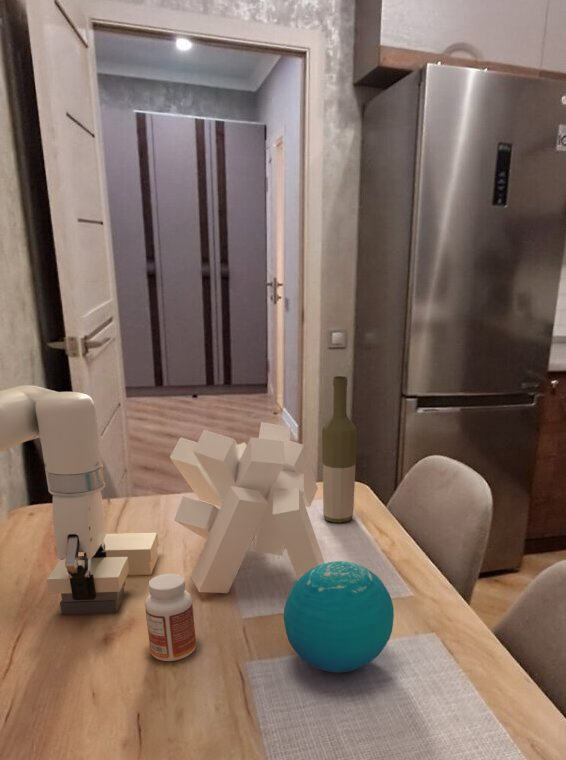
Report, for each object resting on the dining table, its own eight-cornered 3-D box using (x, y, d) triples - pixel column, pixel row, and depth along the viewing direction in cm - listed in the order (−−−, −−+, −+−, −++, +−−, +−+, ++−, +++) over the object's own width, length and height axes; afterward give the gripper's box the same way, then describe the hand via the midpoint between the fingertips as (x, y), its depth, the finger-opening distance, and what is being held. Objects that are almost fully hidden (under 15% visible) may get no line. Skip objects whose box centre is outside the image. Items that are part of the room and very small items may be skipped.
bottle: (335, 528, 137) (336, 382, 126) (315, 517, 142) (315, 376, 130) (361, 520, 142) (365, 378, 130) (341, 510, 146) (343, 372, 135)
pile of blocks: (151, 563, 130) (78, 431, 103) (272, 481, 143) (235, 345, 116) (258, 678, 114) (204, 557, 87) (384, 574, 126) (372, 440, 99)
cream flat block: (49, 594, 99) (46, 579, 98) (63, 572, 106) (60, 558, 105) (119, 591, 101) (117, 577, 100) (129, 570, 107) (127, 556, 106)
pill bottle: (196, 636, 98) (191, 569, 94) (195, 660, 93) (190, 590, 88) (152, 640, 97) (144, 572, 92) (148, 665, 91) (140, 593, 87)
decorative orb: (413, 667, 94) (420, 572, 88) (328, 711, 84) (329, 607, 78) (346, 622, 104) (348, 534, 98) (263, 657, 94) (260, 562, 88)
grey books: (61, 614, 102) (57, 591, 100) (72, 596, 107) (68, 573, 105) (119, 612, 103) (116, 589, 102) (126, 594, 108) (124, 572, 107)
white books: (89, 577, 113) (85, 550, 111) (99, 558, 119) (96, 533, 118) (153, 575, 115) (150, 549, 113) (160, 557, 121) (157, 532, 119)
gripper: (66, 460, 104) (81, 562, 111) (27, 500, 88) (47, 616, 95) (116, 460, 105) (128, 561, 112) (87, 500, 90) (103, 614, 96)
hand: (91, 585), depth 104 cm, fingers closed on cream flat block, 7 cm apart
